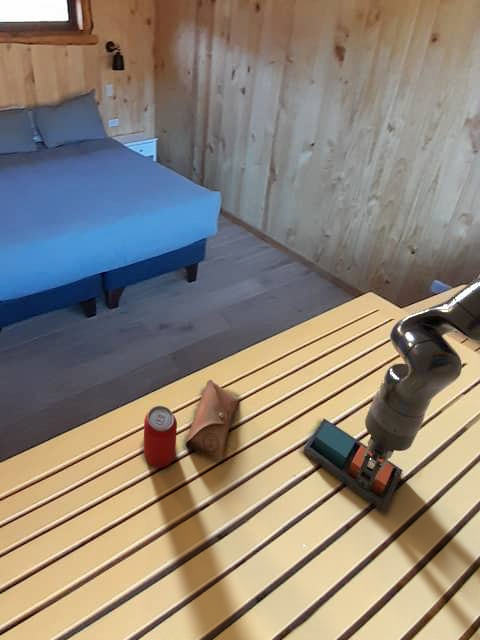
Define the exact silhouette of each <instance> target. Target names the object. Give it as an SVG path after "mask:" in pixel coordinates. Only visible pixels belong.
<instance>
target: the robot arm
mask: <svg viewBox="0 0 480 640" xmlns="http://www.w3.org/2000/svg"><path fill="white" fill-rule="evenodd" d="M453 332H458V333H459V334H461V335H462V336H464V337H465V338H467V339H468V340H470V341H473V342H475V343H480V276H478V277H477V278H475V279H474V280H473V281H471V282H470V283H468V284H467V285H465V286H464V287H463V288H462V289H460V290H459V291H458V292H456V293H455V294H453V295H452V296H450V298H448V299H447V300H445V301H443V302H441V303H439V304H436V305H433V306H430V307H428V308H426V309H423V310H420V311H417V312H415V313H413V314H410V315H408V316H406V317H403V318H402V319H400V320H398V321H397V322H396V323H395V324H394V326H392V329H391V331H390V335H389V340H390V343H391V345H392V346H393V348H394V349H395V351H396V352H397V354H398V355H399V357H400V358H401V359H402V360H403V362H404V363H402V362H401V363H394V364H392V365H390V366H389V368H388V369H387V370H386V372H385V373H384V376H383V379H382V381H381V383H380V386H379V388H378V390H377V391H376V393H375V394H374V396H373V399H372V402H371V404H370V407H369V409H368V411H367V414H366V416H365V419H364V424H365V429H366V431H367V433H368V434H369V435H370V437H369V439H368V440H367V449H366V451H365V453H364V455H363V459H364V461H363V463H362V465H361V467H360V470H359V471H358V472H357V474H358V475H357V476H358V479H357V482H358V483H359V484H360V485H361V486H363V487H364V488H366V489H369V488H370V486H371V485H372V484H374V482H373V481H374V479H375V480H376V475H377V473H378V471H382V470H383V469H384V466H385V464H386V462H387V460H388V461H389V459H391V457H392V456H393V454H394V451H396V452H404V451H407V450H408V449H410V448H411V447H412V445H413V443H414V441H415V440H416V437H417V435H418V433H419V431H420V429H421V427H422V425H423V423H424V420H425V415H426V412H427V410H428V408H429V406H430V404H431V402H432V400H433V399H434V398H435V397H436V396H437V395H438V394H440V393H441V392H442V391H443V390H445V389H446V388H447V387H448V386H450V385H451V384H453V383H454V382H455V381H457V380H458V379H459V377H460V376H461V374H462V370H463V364H462V358H461V357H460V355H459V353H458V352H457V351H456V349H455V348H454V347H453V346H452V345H451V344H450V343H449V342H448V340H447V339H446V338H445V337H444V335H446V334H449V333H453ZM370 449H371V454H372V457H371V455H369V454H368V453H369V451H370ZM378 459H380V460H382V459H384V460H383V462H382V463H381V462H380V461H378Z"/></svg>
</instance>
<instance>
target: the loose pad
mask: <svg viewBox="0 0 480 640" xmlns="http://www.w3.org/2000/svg"><path fill="white" fill-rule="evenodd" d="M365 451H366V448H365V447H363V446H362V445H361V446H360V448H359V450H358V452H357V454H356V456H355V458H354V459H353V461H352V464H351V466H350V469H349V471H348V474H349V475H350V476H351V477H353V478H354V479H356V480H357V479H358V476H357V475H358V474H357V472H358V471H359V470H360V467H361V465H362V463H363V461H364V459H363V455H364V453H365ZM368 454H369V455H371V457H372V454H371V451H369V453H368ZM378 461H380V462H381V463H382V462H383V459H382V460H380V459H378ZM393 468H394V466H392V465H391V464H389V463H388V462H386V464H385V466H384V469H383V470H382V471H378V473H377V475H376V480H375V479H374V481H373V482H374V484H372V485H371V486H370V488H369V489H370V490H371V491H372V492H374V493H375V494H377V495H378V496H379V497H380V496H381V494H382V492H383V490H384V488H385V486H386V484H387V481H388V479H389V477H390V475H391V472H392V470H393Z"/></svg>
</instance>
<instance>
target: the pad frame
mask: <svg viewBox="0 0 480 640" xmlns="http://www.w3.org/2000/svg"><path fill="white" fill-rule="evenodd" d="M326 422H327V423H328V424H330V425H331V426H333V427H335V428H336V429H338V430H339V431H341V432H342V433H344V434H345V435H347V436H348V437H350V438H351V439H353V440H354V441H355V445H354V447H353V450H352V452H351V454H350V456H349V458H348V459H347V461H346V463H345V465H344V466H343V468H342V469H340V468H339V467H337V466H336V465H335V464H333V463H332V462H330V461H329V460H328V459H326V458H325V457H324V456H322V455H321V454H319V453H318V452H317V451H315V450H314V449H313V446H314V443H315V440H316V437H317V436H318V434H319V433H320V431H321V430H322V428H323V427H324V425H325V424H326ZM361 445H362V446H363V447H365V448H366V449H367V447H368V445H366V444H364V443H362V442H361V441H360V440H358V439H357V438H355V437H354V436H352V435H351V434H349V433H348V432H346V431H344V430H343V429H341V428H340V427H338V426H337V425H335V424H334V423H332V422H331V421H329V420H328V419H326V418H323V419H322V420H321V422H320V423H319V424H318V426H317V427H316V429H315V431H314V432H313V434H312V435H311V437H310V438H309V439H308V441H307V442H306V443H305V445H304V448H303V450H302V453H303V454H304V455H306V456H307V457H308V458H309V459H311V460H312V461H313V462H315V463H316V464H317V465H319V466H320V467H321V468H323V469H324V470H325V471H327V472H328V473H329V474H331V475H332V476H334V477H335V478H337V479H338V480H339V481H340V482H342V483H343V484H344V485H346V486H347V487H349V488H350V489H351V490H353V491H354V492H355V493H357V494H358V495H359V496H360V497H362V498H363V499H365V501H367V502H369V503H370V504H372V505H373V506H374V507H376V508H377V509H378V510H380V511H381V512H382V513H385V511H386V509H387V507H388V505H389V503H390V500H391V498H392V496H393V493H394V491H395V489H396V487H397V484H398V482H399V480H400V478H401V475H402V473H403V471H404V470H403V469H402V468H400V467H399V466H397V465H396V464H395V463H394V462H391V461H390V460H389V459H388V460H387V462H388V463H389V464H391V465H392V466H394V468H393V470H392V472H391V475H390V477H389V479H388V481H387V484H386V486H385V488H384V490H383V492H382V494H381V496H380V497H379V496H378V495H377V494H375V493H374V492H372V491H371V490H370V489H366V488H364V487H363V486H361V485H360V484H359V483H358V482H357V480H356V479H354V478H353V477H351V476H350V475H349V474H348V471H349V469H350V466H351V464H352V461H353V459H354V458H355V456H356V454H357V452H358V450H359V448H360V446H361ZM370 451H371V449H370ZM383 460H384V459H383Z"/></svg>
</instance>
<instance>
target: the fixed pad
mask: <svg viewBox="0 0 480 640" xmlns="http://www.w3.org/2000/svg"><path fill="white" fill-rule="evenodd" d="M354 445H355V441H354V440H353V439H351V438H350V437H348V436H347V435H345V434H344V433H342V432H341V431H339V430H338V429H336V428H335V427H333V426H331V425H330V424H328V423H327V422H326V424H325V425H324V427H323V428H322V430H321V431H320V433H319V434H318V436H317V437H316V440H315V443H314V446H313V449H314V450H315V451H317V452H318V453H319V454H321V455H322V456H324V457H325V458H326V459H328V460H329V461H330V462H332V463H333V464H335V465H336V466H337V467H339V468H340V469H342V468H343V466H344V465H345V463H346V461H347V459H348V458H349V456H350V454H351V452H352V450H353V447H354Z"/></svg>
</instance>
